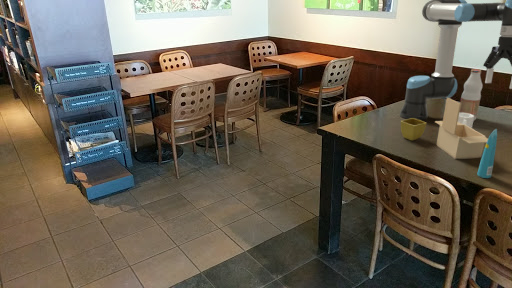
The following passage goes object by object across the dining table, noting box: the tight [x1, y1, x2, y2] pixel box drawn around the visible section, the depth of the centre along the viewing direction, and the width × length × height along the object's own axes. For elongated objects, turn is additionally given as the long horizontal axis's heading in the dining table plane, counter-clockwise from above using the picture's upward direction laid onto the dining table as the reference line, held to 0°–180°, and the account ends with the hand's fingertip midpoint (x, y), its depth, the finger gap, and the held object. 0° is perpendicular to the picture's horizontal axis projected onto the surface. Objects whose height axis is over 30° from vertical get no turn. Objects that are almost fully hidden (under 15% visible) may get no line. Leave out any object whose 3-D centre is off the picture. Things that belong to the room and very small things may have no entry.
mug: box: [458, 113, 475, 129], centre depth 192 cm, size 12×9×10 cm
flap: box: [442, 97, 461, 135], centre depth 167 cm, size 10×1×14 cm, turn 4°
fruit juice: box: [459, 68, 483, 122], centre depth 211 cm, size 9×9×28 cm
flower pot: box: [400, 118, 427, 141], centre depth 188 cm, size 9×9×9 cm
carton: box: [434, 120, 489, 160], centre depth 172 cm, size 28×12×10 cm, turn 4°
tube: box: [476, 128, 498, 179], centre depth 148 cm, size 7×5×19 cm, turn 140°
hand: (499, 85), depth 167 cm, fingers open, 13 cm apart
